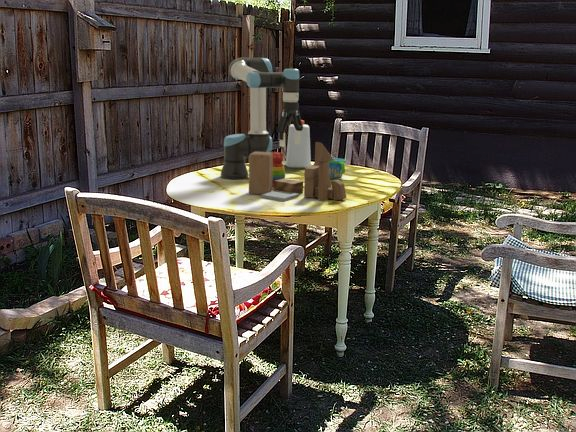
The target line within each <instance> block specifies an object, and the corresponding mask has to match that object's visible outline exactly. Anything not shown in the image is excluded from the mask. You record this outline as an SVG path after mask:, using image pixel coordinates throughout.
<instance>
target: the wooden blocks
mask: <svg viewBox="0 0 576 432" xmlns="http://www.w3.org/2000/svg"><path fill="white" fill-rule="evenodd" d="M333 158H334V157H333V156H332V154H331V153H330V152H329V151H328V150H327V148H326V146H325V145H324V144H323V143H322V142H319V141H315V144H314V163H313V165H312V164H311V166H309V167H307V168H304V173H303V175H304V176H303V178H304V183H303V196H304V198H311V199H313V198H316V199H317V200H318V201H322V202H323V201H327V200H334V201H342V200H345V199H347V198H348V197H347V192H346V187H345V184H344V183H343V182H342V181H341V180H340V179H334V180H332V181H331V177H330V172H329V161H334V159H333Z"/></svg>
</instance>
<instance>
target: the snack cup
mask: <svg viewBox="0 0 576 432" xmlns="http://www.w3.org/2000/svg"><path fill="white" fill-rule="evenodd" d="M332 158H333V159H334V161H329V172H330V178H332V179H340V178H342V177H343V174H345V172H346V168H345V164H346V159H345V158H339V157H332Z"/></svg>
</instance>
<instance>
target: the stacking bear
mask: <svg viewBox="0 0 576 432" xmlns="http://www.w3.org/2000/svg"><path fill="white" fill-rule="evenodd" d="M271 153H273V179H272V188H274V181H275V180H280V179H286V169H285V166H284V164H283V161H284V153H283V152H278V151H276V152H274V151H271Z"/></svg>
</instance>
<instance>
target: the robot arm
mask: <svg viewBox="0 0 576 432" xmlns="http://www.w3.org/2000/svg"><path fill="white" fill-rule="evenodd" d="M228 72H229V75H230V76H231V78H234V79H235V80H240V81H241V80H242V81H243V82H246V86H247V87H248V88H249V89H250V91H249V93H250V95H249V97H250V98H249V99H250V101H249V103H250V105H249V106H250V107H249V108H250V115H249V116H250V118H249V119H250V130H249V131H248V132H247V136H246V134H245V133H235V134H229V135H227V136H225V137H224V138H223V165H222V168H221V171H220V177H221V178H223V179H226V180H243V179H247V178H249V171H248V169H247V168H248V167H247V166H246V159H247V158H248V159H249V155H250V154H251V153H253V152H272V150H273V138H272V137H271V136H270V135H269V134H270V133H269V131H267V118H266V117H267V88H268V89H269V88H270V89H272V88H273V89H274V88H275V89H276V88H277V89H283V90H282V96H283V97H282V100H283V102H282V109H283V110H284V111H280V117H279V121H278V124H277V128H276V132H277V133H278V134H279V138H278V139H279V147H283V148H285V147H286V130H287V127H288V125H289V123H290V122H292V124H293V125H294V127H295V129H296V130H297V131H296V130H295V143H294V144H300V131H302V129H303V125H302V121H301V120H302V117H301V111H300V110H299V102H298V101H299V97H300V94H299V93H300V92H299V91H300V70H299V69H297V68H285V69H284V70H283V71H278V72H277V71H276V72H275V71H274V72H273V66H272V63H271V61H270V59H268V58H267V57H238V58H235V59H234V60H233V61H231V62H230V64H229V66H228Z"/></svg>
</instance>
